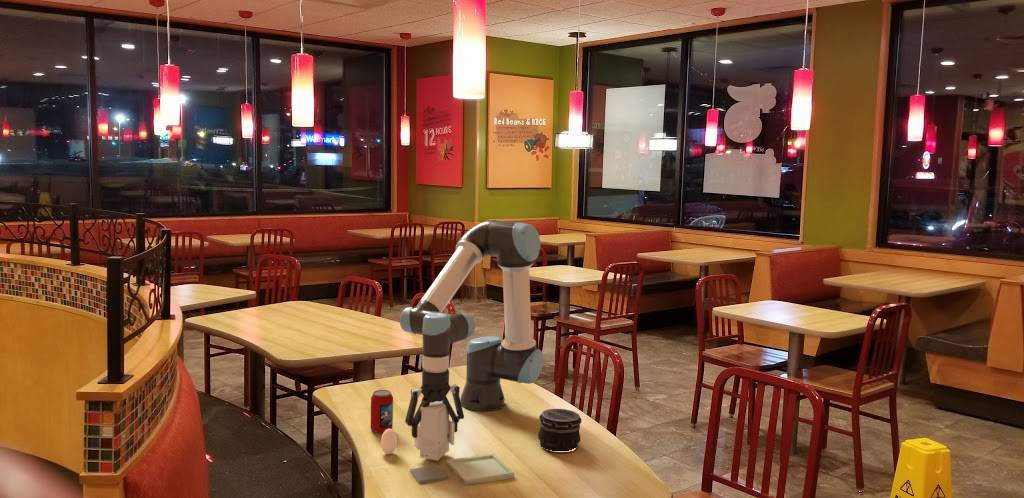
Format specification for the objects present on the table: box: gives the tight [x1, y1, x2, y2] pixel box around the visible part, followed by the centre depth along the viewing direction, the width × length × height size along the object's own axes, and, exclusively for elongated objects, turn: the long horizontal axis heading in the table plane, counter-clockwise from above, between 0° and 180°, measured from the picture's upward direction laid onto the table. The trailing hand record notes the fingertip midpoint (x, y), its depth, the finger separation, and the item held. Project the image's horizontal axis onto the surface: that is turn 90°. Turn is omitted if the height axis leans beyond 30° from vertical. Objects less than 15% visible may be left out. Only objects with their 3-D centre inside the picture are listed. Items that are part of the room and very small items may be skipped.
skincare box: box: [419, 401, 450, 462], centre depth 224 cm, size 8×6×15 cm
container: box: [537, 408, 582, 451], centre depth 236 cm, size 13×13×10 cm
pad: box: [409, 464, 449, 485], centre depth 213 cm, size 8×8×1 cm
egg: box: [380, 428, 398, 455], centre depth 226 cm, size 5×5×7 cm
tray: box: [446, 453, 515, 486], centre depth 216 cm, size 14×14×2 cm
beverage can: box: [370, 389, 394, 434], centre depth 244 cm, size 7×7×12 cm
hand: (434, 445), depth 224 cm, fingers closed on skincare box, 9 cm apart
